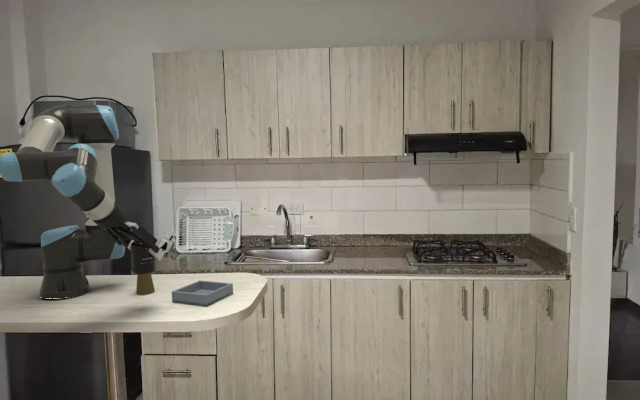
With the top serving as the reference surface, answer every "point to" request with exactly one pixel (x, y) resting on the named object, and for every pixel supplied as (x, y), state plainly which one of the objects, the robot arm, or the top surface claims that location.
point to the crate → (202, 293)
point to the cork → (144, 284)
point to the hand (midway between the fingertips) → (152, 256)
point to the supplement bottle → (142, 259)
